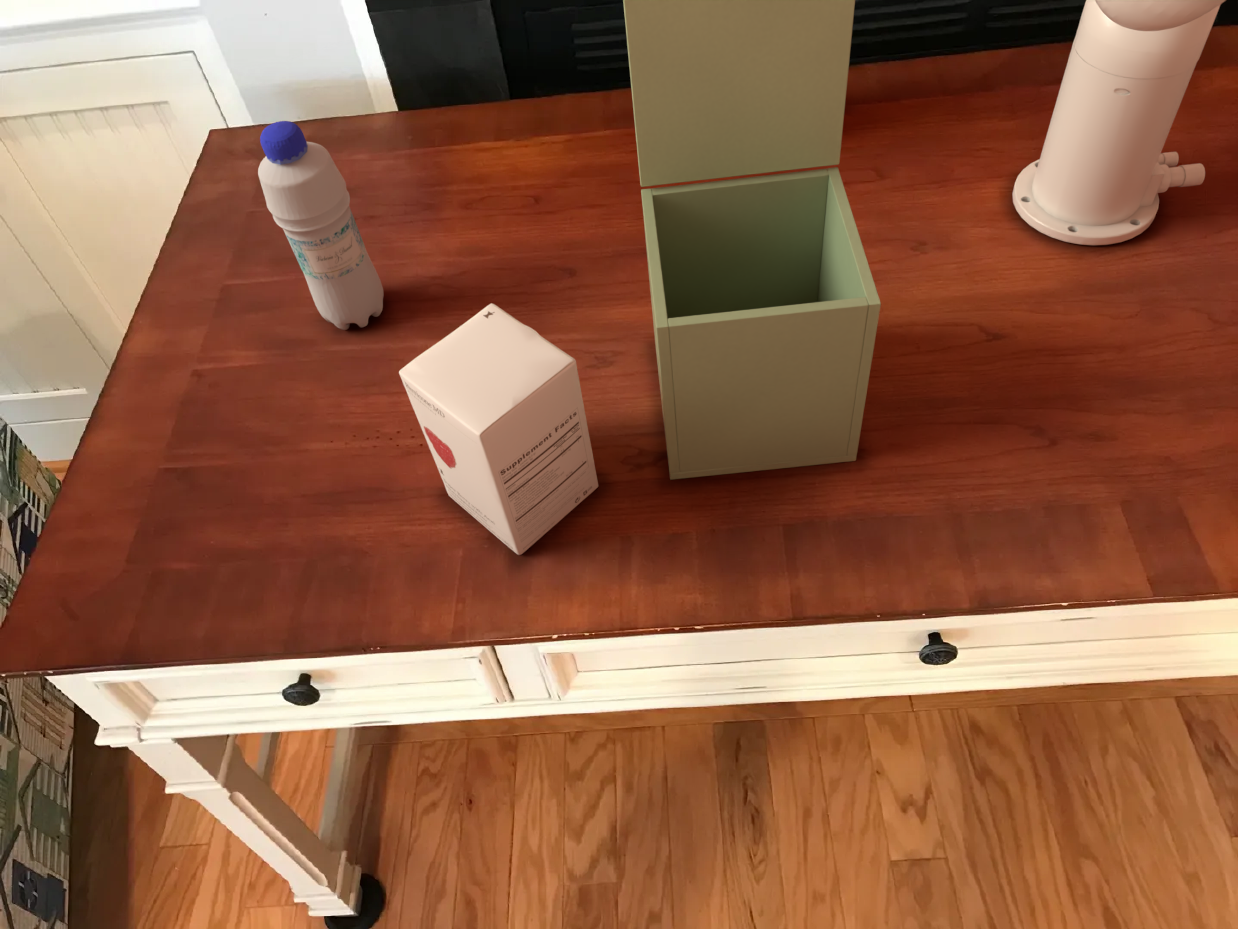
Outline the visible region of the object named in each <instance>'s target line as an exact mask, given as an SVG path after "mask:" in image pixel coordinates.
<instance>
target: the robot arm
mask: <svg viewBox="0 0 1238 929" xmlns="http://www.w3.org/2000/svg"><path fill="white" fill-rule="evenodd" d="M1226 1H1227V0H1085V2H1084V6H1083V9H1082V12H1081V16H1080V19H1079V23H1078V26H1077V29H1076V33H1075V36H1074V38H1073V42H1072V45H1071V48H1070V52H1069V55H1068V59H1067V63H1066V66H1065V70H1064V73H1063V77H1062V80H1061V83H1060V87H1059V90H1058V94H1057V97H1056V101H1055V105H1054V108H1053V112H1052V115H1051V118H1050V122H1049V124H1048V129H1047V132H1046V136H1045V138H1044V143H1043V146H1042V150H1041V153H1040V156H1039V159H1037V160H1035V161H1033V162H1030V163H1029V164H1028V165H1027V166H1026V167H1024V168H1023V169H1022V170H1021V172H1020V173H1019V174H1018V175H1017V177H1016V180H1015V182H1014V186H1013V190H1012V193H1011V194H1012V203H1013V206H1014V208H1015V210H1016V212H1017V213H1018V215H1019V217H1020V218H1021V219H1022V220H1023V221H1025V223H1027V224H1028V225H1029V226H1030V227H1031V228H1033V229H1034V230H1036V231H1038V232H1039V233H1041V234H1043V235H1046V236H1047V237H1050V238H1052V239H1055V240H1059V241H1062V242H1065V243H1069V244H1070V243H1071V244H1075V245H1080V246H1081V245H1083V246H1108V245H1113V244H1119V243H1122V242H1125V241H1128V240H1131V239H1133V238H1135V237H1137V236H1139V235H1141V234H1143V232H1145V231H1147V229H1148V228H1149V227H1150V226H1151V224H1153V222H1154V221H1155V218H1156V214H1158V213H1157V212H1158V210H1159V204H1160V198H1159V194H1161V193H1162V194H1163V193H1165V192H1167V191H1168V189H1169V188H1176V187H1177V188H1184V187H1185V188H1187V187H1195V186H1201V185H1202V184H1203V183H1204V181H1205V179H1206V178H1205V177H1206V168H1205V166H1204V164H1202V163H1200V162H1198V163H1190V164H1181V165H1179V160H1180V159H1179V158H1180V157H1179V153H1178V152H1177V151H1169V152H1162V151H1163V148H1164V146H1165V144H1166V142H1167V139H1168V136H1169V134H1170V131H1171V128H1172V126H1173V124H1174V121H1175V119H1176V116H1177V113H1178V111H1179V109H1180V106H1181V104H1182V101H1183V98H1184V96H1185V93H1186V92H1187V88H1188V86H1189V82H1190V81H1191V78H1192V75H1193V74H1194V71H1195V68H1196V66H1197V63H1198V61H1199V60H1200V57H1201V56H1202V53H1203V50H1204V48H1205V45H1206V42H1207V40H1208V38H1209V36H1210V32H1211V31H1212V28H1213V25H1214V23H1215V20H1216V18H1217V15H1218V12H1219V10H1220V7H1221V5H1222V4H1223V3H1225V2H1226Z"/></svg>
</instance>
